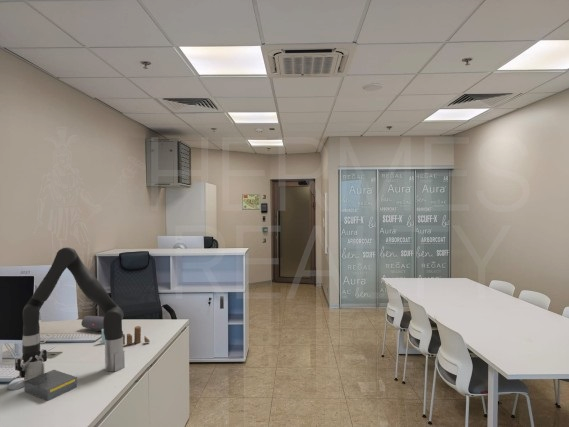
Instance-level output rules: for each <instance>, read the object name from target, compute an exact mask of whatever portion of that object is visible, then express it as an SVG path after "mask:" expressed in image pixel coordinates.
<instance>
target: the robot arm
mask: <svg viewBox="0 0 569 427" xmlns="http://www.w3.org/2000/svg"><path fill="white" fill-rule="evenodd" d="M66 269H67V270H68V271H69V272H70V274H72V277H73V278H74V280H75V283H76V284H77V286H78V288H79V289H80V291H81V292H82V293H83V295H85V296H86V298H87V299H88V300H90V301H92V302H93V303H94V304H96V305H97V306H98V307H99V308H100V309H101V311H102V312H103V314H104V315H103V317H104V320H103V325H104V335H105V344H104V356H105V357H104V362H105V364H104V368H105V371H106V372H117V371H120V370H121V369H124V368H125V366H126V365H125V350H124V345H123V334H124V331H123V319H124V316H125V314H124V311H123V310H122V308H121V307H120V306H119V305H118V304H117V303H116V302H115V301H114V300H113V299H112V298H111V297H110V295H109V293H108V292H107V291H106V289H105V288H104V286H103V285H102V284H101V283H100V281H99V280H98V278H97V277H96V276H95V275H94V273H92V272H91V270H89V269H88V267H86V265H84V263H83V261H82V259H81V258H80V256H79V255H78V253H77V251H76V249H74V248H71V247H62V248H60V249H59V250H58V251H57V252H56V255H55V256H54V260H53V262H52V264H51V266H50V267H49V270H48V271H47V272H46V275H45V276H44V277H43V279H42V280H41V282H40V283H39V285H38V286H37V288H36V289H35V291H34V292H33V294H32V296H31V297H30V298H29V300H28V301H27V302H26V304H25V305H24V307H23V309H22V323H23V326H22V340H21V342H22V343H21V344H22V346H21V347H22V349H21V350H22V352H21V353H22V356H21V357H17V358H15V359H14V364H15V365H14V369H15V371H17V372H19V371H20V377H21V378H20V379H24V377H25V370H24V369H25V368H26V366H28V364H29V362H35V361H41V359H40V358H43V363H45V362H47V360H48V356H47V353H48V351H47V349H42V350H41V334H40V333H41V332H40V331H41V330H40V311H41V308H42V307H43V305H44V303H45V302H46V301H47V300H48V299H49V297H50V296H51V294H52V292H53V291H54V289H55V288H56V286H57V284H58V282H59V281H60V278H61V276H62V275H63V273H64V272H65V270H66ZM40 356H41V357H40ZM24 363H26V364H24Z"/></svg>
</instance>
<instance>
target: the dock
mask: <svg viewBox="0 0 569 427" xmlns="http://www.w3.org/2000/svg"><path fill="white" fill-rule="evenodd" d="M23 382H24V383H23V384H24V386H23V387H24V393H27V394H29V395H31V396H35V397H37V398H40V399H42V400H45V401H47V402H48V401H50V400H53V399H55V398H57V397H59V396H60V395H63V394H65V393H68V392H70V391H72V390H73V389H76V388H78V377H77V376H75V375H72V374H69V373H65V372H62V371H60V370H56V369H51V370H49V371H46V372H44V374H42V375H39V376H37V377H34V378H32V379H29V380H27V381H24V380H23Z"/></svg>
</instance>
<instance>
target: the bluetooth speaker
mask: <svg viewBox="0 0 569 427" xmlns="http://www.w3.org/2000/svg"><path fill="white" fill-rule="evenodd" d="M103 320H104V316H99V315H85V316H83V318H82V320H81V326H82V328H86V329H90V330H91V331H95V332H102V329H104V325H103Z"/></svg>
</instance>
